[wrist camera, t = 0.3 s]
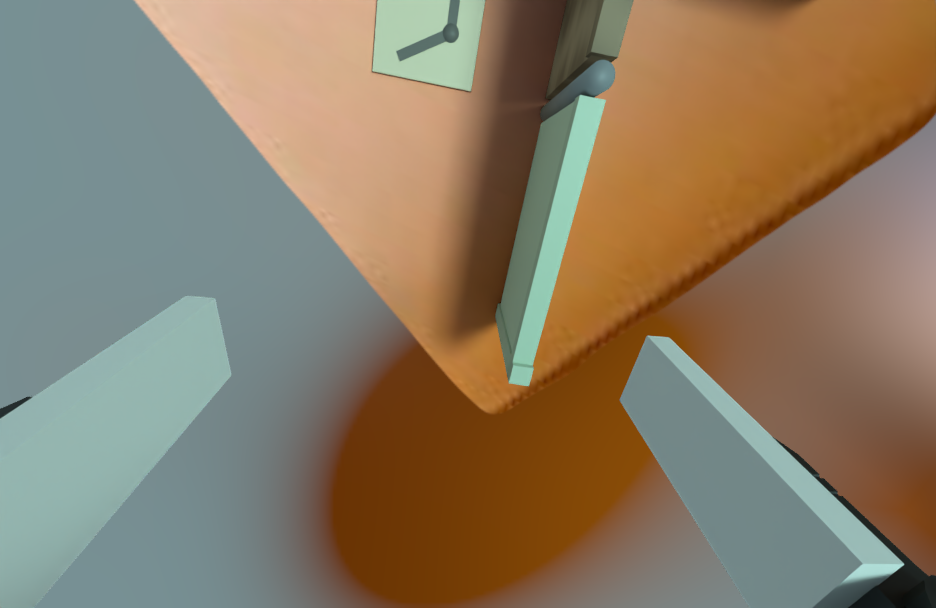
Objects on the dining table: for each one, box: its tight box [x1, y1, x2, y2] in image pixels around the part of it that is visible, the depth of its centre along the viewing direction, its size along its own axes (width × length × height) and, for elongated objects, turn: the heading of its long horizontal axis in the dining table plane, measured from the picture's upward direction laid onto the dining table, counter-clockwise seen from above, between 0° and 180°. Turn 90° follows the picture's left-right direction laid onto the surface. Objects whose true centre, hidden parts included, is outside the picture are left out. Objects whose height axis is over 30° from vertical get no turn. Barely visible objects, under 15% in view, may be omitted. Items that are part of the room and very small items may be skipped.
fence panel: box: [495, 60, 615, 386], centre depth 30 cm, size 22×2×14 cm, turn 170°
